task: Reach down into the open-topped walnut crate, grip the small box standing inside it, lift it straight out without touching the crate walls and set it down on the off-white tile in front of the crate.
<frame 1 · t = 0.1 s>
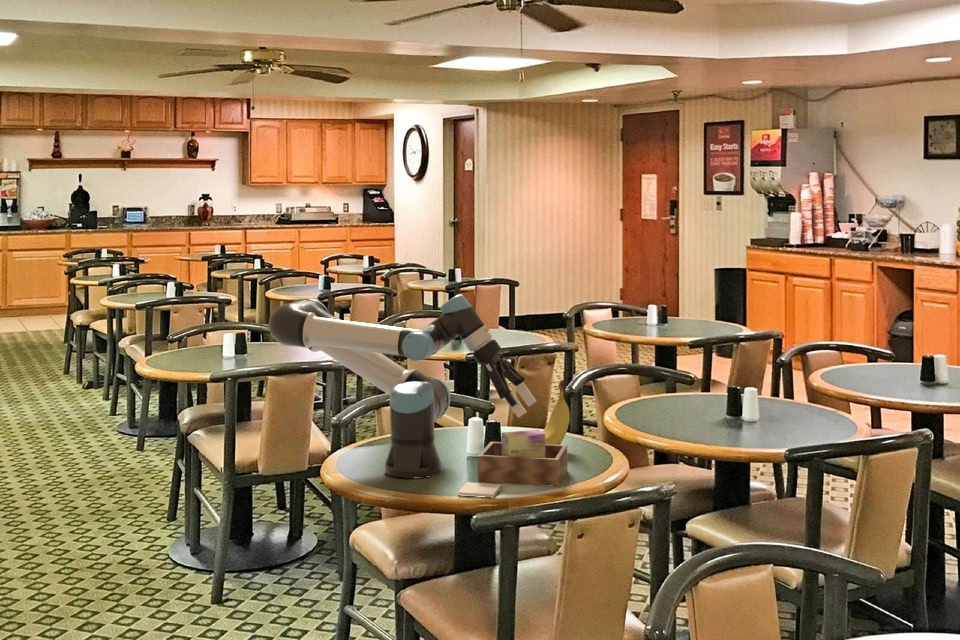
hand: (527, 409, 293), 15 cm above the table, tool tilted 35°, fingers open, 13 cm apart
tile: (479, 492, 270), on the table
banana: (545, 455, 305), on the table
crate: (523, 476, 283), on the table
box: (523, 477, 283), resting in crate
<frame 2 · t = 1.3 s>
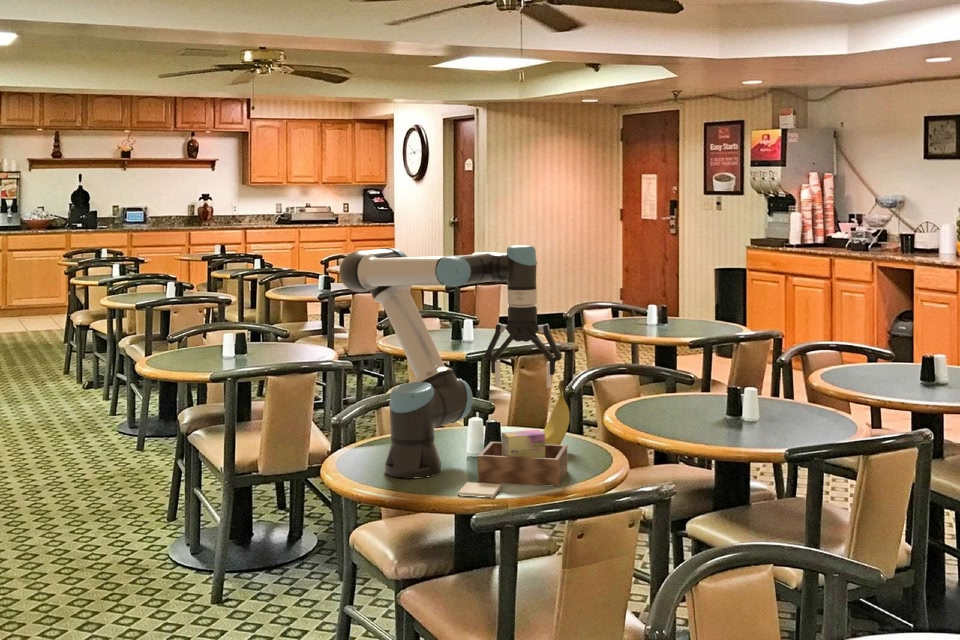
hand: (523, 386, 280), 24 cm above the table, tool pointing down, fingers open, 13 cm apart
nothing on the table moved.
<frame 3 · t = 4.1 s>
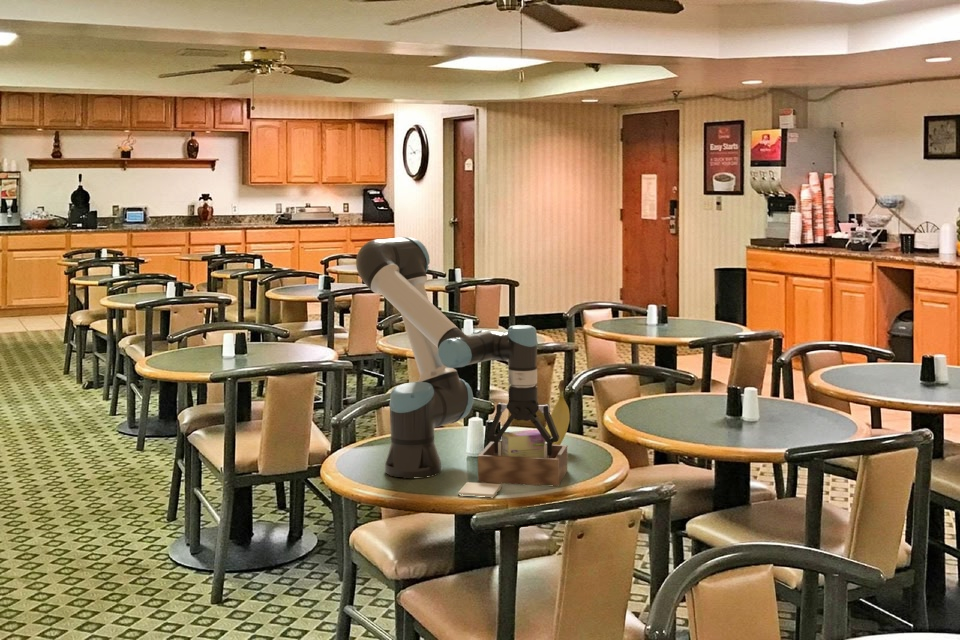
hand: (523, 466, 283), 3 cm above the table, tool pointing down, fingers closed on box, 11 cm apart
box: (523, 477, 283), resting in crate, touching gripper
everything else where it was.
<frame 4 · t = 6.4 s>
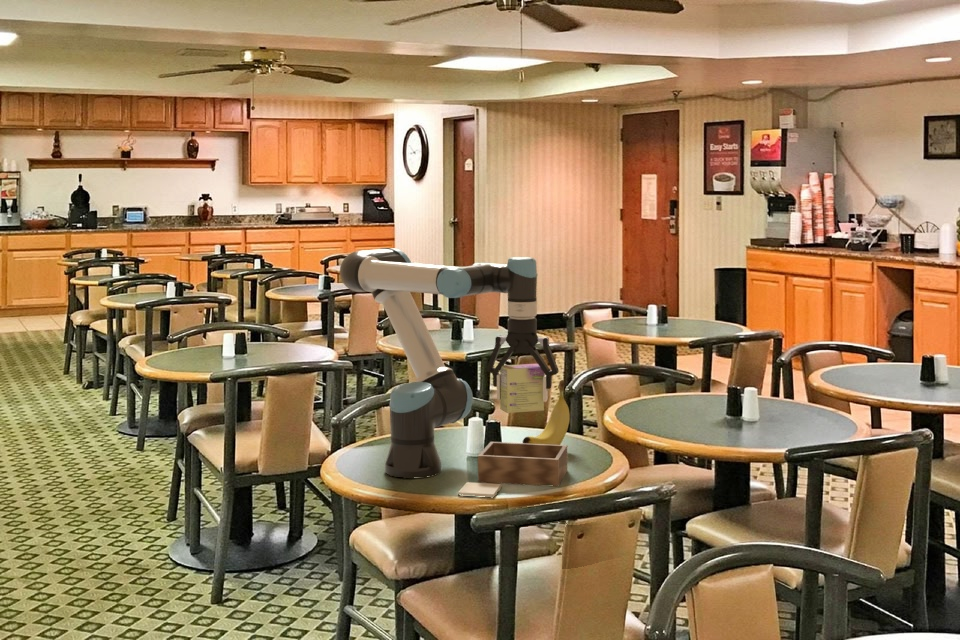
hand: (522, 399, 281), 21 cm above the table, tool pointing down, fingers closed on box, 11 cm apart
box: (522, 410, 281), point 18 cm above the table, touching gripper
everything else where it was.
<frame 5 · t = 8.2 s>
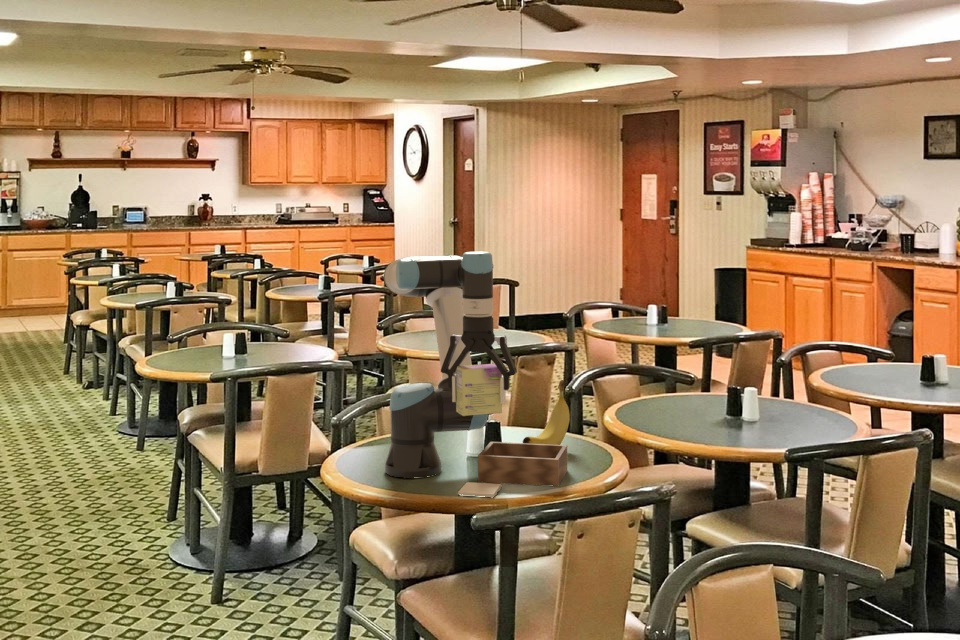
hand: (479, 402, 267), 23 cm above the table, tool pointing down, fingers closed on box, 11 cm apart
box: (479, 413, 267), point 20 cm above the table, touching gripper
everything else where it was.
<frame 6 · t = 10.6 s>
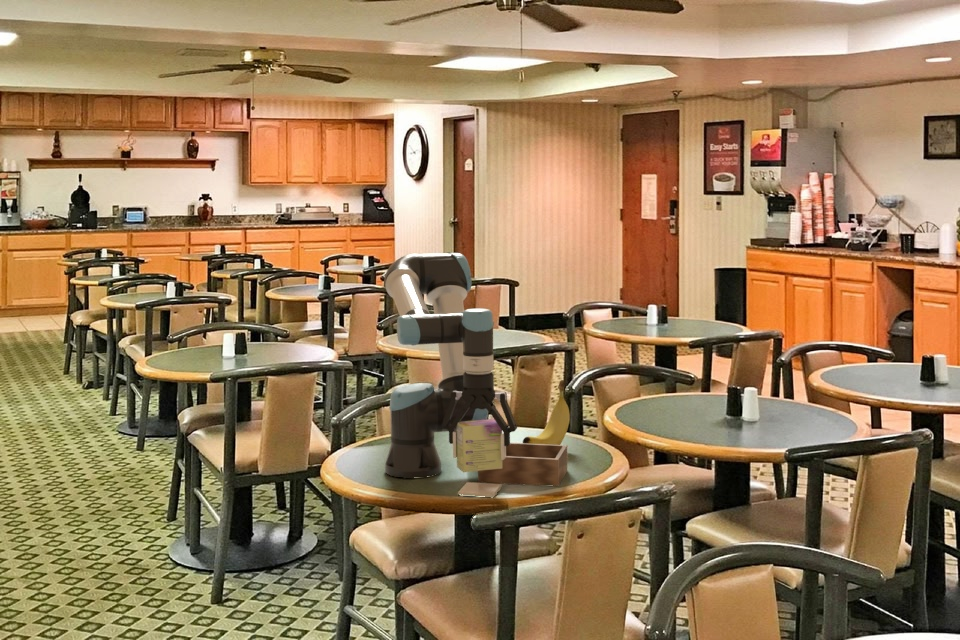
hand: (479, 457, 268), 9 cm above the table, tool pointing down, fingers closed on box, 11 cm apart
box: (479, 469, 269), point 6 cm above the table, touching gripper
everything else where it was.
when the fingers open (5 cm above the table, at t = 12.5 s): box drops 1 cm, resting on tile.
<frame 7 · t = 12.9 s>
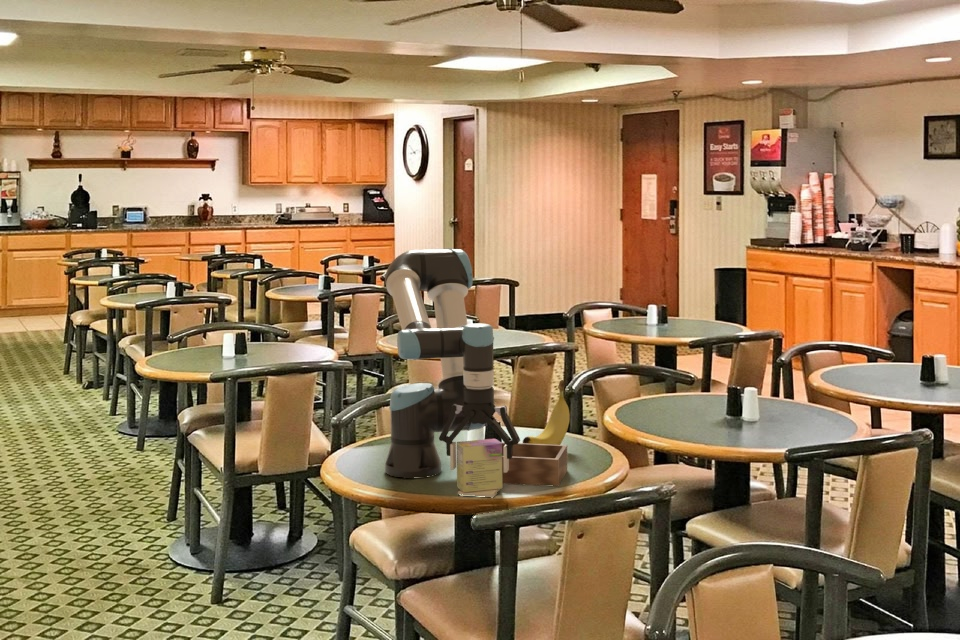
hand: (479, 469, 269), 6 cm above the table, tool pointing down, fingers open, 13 cm apart
box: (479, 488, 269), point 1 cm above the table, touching tile
everything else where it was.
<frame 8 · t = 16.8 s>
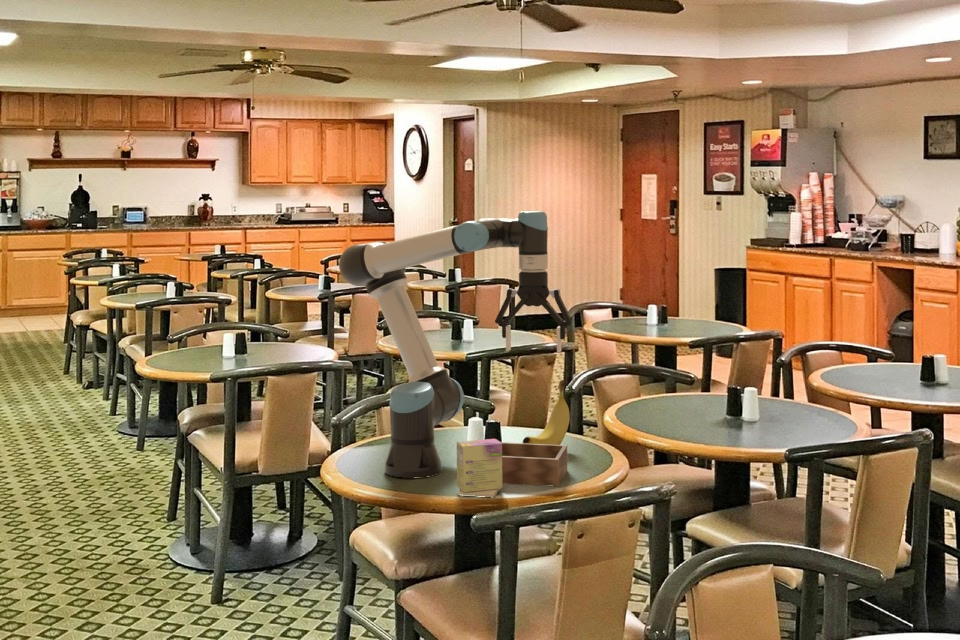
hand: (533, 351, 283), 33 cm above the table, tool pointing down, fingers open, 13 cm apart
nothing on the table moved.
at the end: box inside the target area (0.1 cm from its centre), point 0.8 cm above the table; box tilted 0°; box touching tile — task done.
